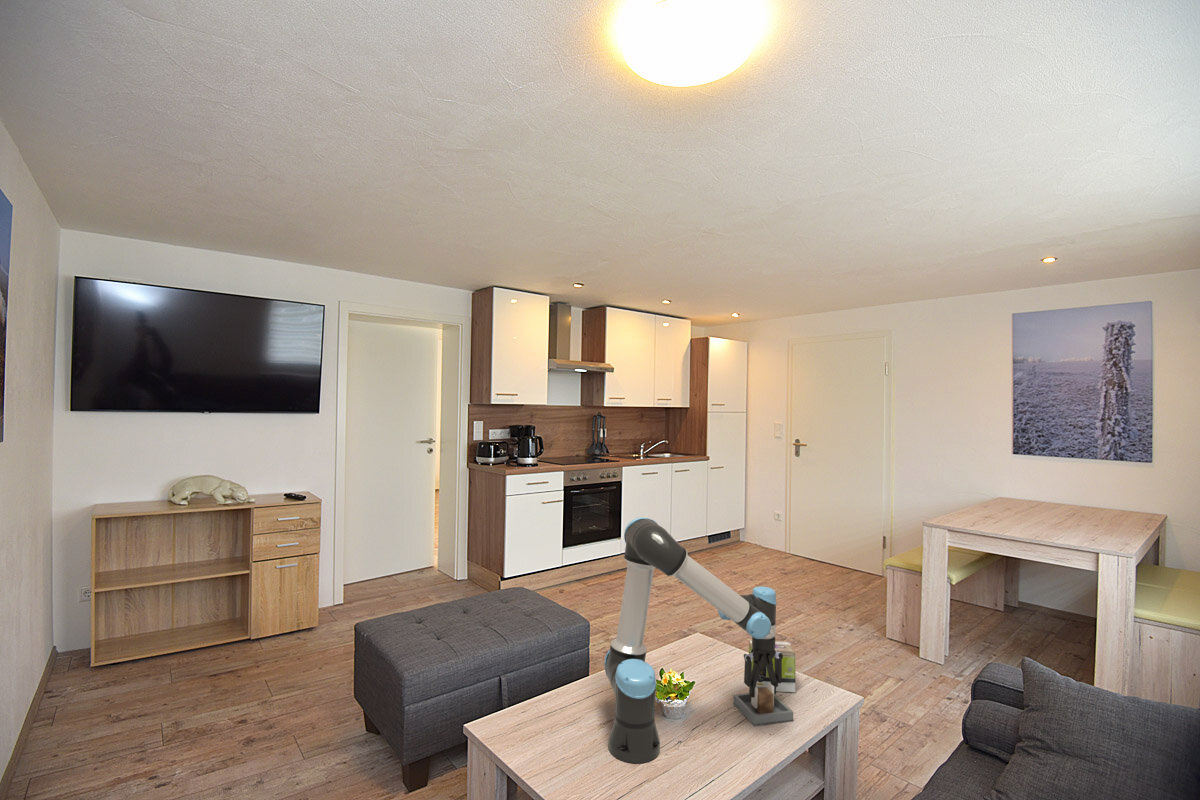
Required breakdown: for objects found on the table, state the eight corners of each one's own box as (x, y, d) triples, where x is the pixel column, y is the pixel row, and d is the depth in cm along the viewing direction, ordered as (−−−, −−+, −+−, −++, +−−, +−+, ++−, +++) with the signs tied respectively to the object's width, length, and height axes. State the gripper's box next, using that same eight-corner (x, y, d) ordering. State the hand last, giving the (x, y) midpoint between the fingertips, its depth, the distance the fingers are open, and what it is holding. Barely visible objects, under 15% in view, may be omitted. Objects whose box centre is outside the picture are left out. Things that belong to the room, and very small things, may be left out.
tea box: (789, 680, 209) (789, 640, 209) (795, 693, 199) (796, 652, 199) (748, 677, 211) (748, 638, 211) (752, 690, 201) (753, 649, 201)
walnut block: (759, 714, 183) (759, 695, 183) (752, 706, 188) (752, 688, 188) (773, 712, 184) (773, 694, 184) (765, 704, 189) (765, 686, 189)
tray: (754, 726, 178) (754, 716, 178) (733, 703, 191) (733, 694, 191) (793, 721, 181) (793, 711, 181) (769, 699, 195) (770, 690, 195)
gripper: (744, 641, 181) (743, 714, 180) (794, 637, 185) (793, 708, 185) (733, 632, 188) (732, 702, 188) (781, 628, 193) (780, 696, 192)
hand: (762, 705), depth 186 cm, fingers open, 5 cm apart
